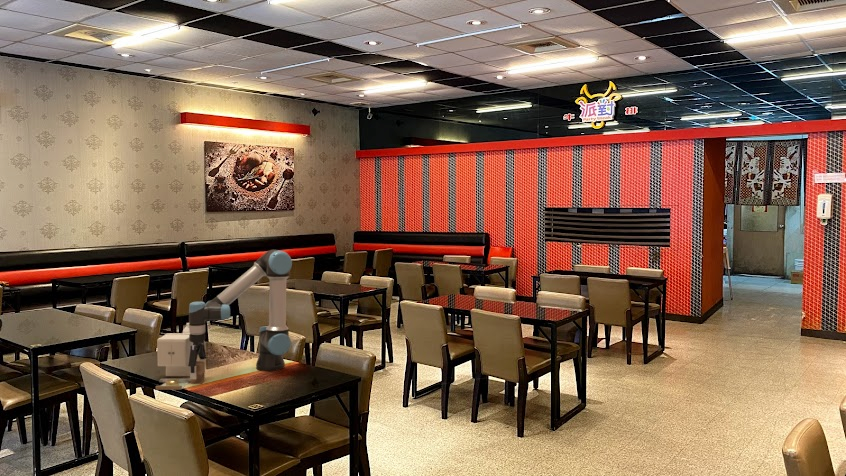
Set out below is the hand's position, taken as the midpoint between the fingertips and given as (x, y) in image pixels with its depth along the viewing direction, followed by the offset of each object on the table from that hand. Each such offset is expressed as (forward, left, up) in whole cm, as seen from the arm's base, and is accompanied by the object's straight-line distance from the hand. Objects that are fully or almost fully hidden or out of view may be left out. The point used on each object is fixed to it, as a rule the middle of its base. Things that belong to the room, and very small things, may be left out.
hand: (197, 375), depth 325 cm
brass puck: (+10, +6, -3) cm, 13 cm away
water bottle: (+12, -28, -4) cm, 30 cm away
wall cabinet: (+13, -6, -3) cm, 15 cm away
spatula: (+8, 0, -3) cm, 9 cm away
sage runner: (+10, +2, -3) cm, 11 cm away
